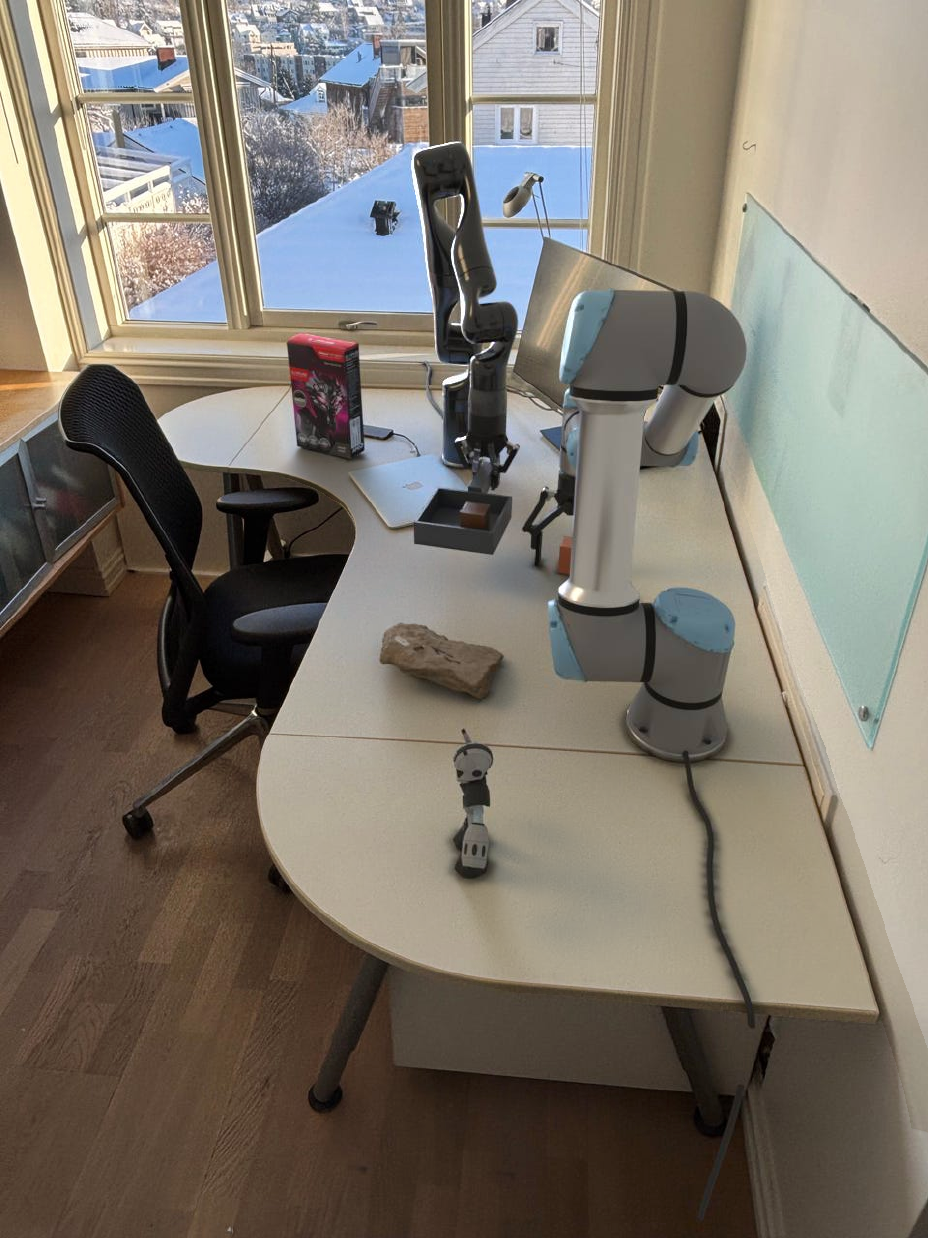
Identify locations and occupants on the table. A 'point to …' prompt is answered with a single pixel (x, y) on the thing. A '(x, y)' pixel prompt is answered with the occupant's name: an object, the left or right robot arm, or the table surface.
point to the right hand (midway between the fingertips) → (570, 567)
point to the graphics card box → (326, 394)
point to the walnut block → (475, 516)
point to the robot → (473, 807)
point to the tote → (443, 517)
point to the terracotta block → (565, 555)
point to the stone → (440, 658)
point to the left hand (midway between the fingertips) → (485, 487)
